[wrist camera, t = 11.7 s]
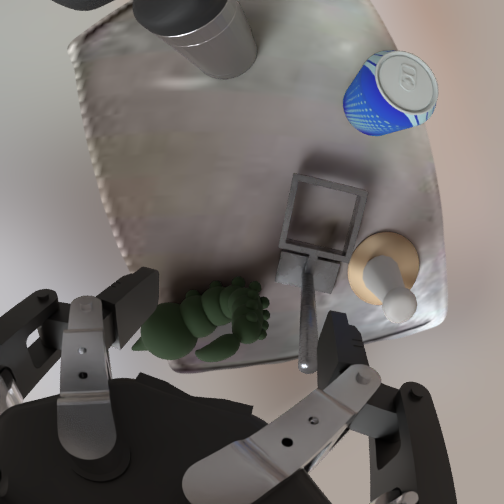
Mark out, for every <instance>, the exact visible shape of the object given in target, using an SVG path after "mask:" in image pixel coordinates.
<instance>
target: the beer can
mask: <svg viewBox="0 0 504 504" xmlns="http://www.w3.org/2000/svg"><path fill="white" fill-rule="evenodd" d="M437 98H438V84H437V81H436V78H435V76H434V74H433V72H432V70H431V69H430V68H429V66H428V65H427V64H426V63H425V62H424V61H423V60H421V59H420V58H419V57H417V56H415V55H413V54H411V53H408V52H405V51H394V50H387V51H381V52H378V53H376V54H374V55H372V56H371V57H370V58H369V59H368V60H367V61H366V62H365V64H364V65H363V67H362V68H361V70H360V71H359V73H358V74H357V76H356V77H355V79H354V80H353V82H352V83H351V85H350V86H349V88H348V89H347V91H346V93H345V95H344V99H343V108H344V112H345V115H346V117H347V119H348V121H349V122H350V123H351V124H352V126H353V127H355V128H356V129H357V130H358V131H360V132H362V133H364V134H367V135H370V136H381V135H385V134H389V133H392V132H396V131H399V130H403V129H407V128H410V127H414V126H418V125H420V124H422V123H424V122H425V121H427V120H428V119H429V118H430V117H431V115H432V114H433V112H434V109H435V106H436V102H437Z"/></svg>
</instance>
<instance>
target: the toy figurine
mask: <svg viewBox="0 0 504 504" xmlns="http://www.w3.org/2000/svg"><path fill="white" fill-rule="evenodd" d="M244 286H245V281H244V279H243V278H241V277H235V278H234V279H233V280H232V286H228V287H226V288H225V287H222V284H221V283H220V282H219V281H213V282H212V283H211V284H210V289H208V290H207V291H205V292H204V293H203V295H202V296H201V295H200V293H199V292H198V291H196V290H189V291H188V292H187V293H186V297H185V298H186V299H185V300H184V301H183V302H182V303H181V304H180V305H179V304H176V303H161V304H159V305H157V308H156V310H155V311H154V312H153V314H152V315H151V316H150V317H149V318H148V319H147V320H146V321H145V323H144V324H143V325H142V326H141V337H140V338H139V340H137V342H136V343H135V344H134V345H133V346H132V350H134V351H143V350H148V351H149V352H151V353H152V354H153V355H155V356H157V357H159V358H162V359H166V360H176V359H179V358H182V357H184V356H186V355H187V354H189V353H190V352H191V351H192V350H193V348H194V347H195V345H196V343H197V339H198V338H202V337H206V336H208V335H209V334H211V333H212V332H213V331H214V330H215V329H216V327H217V326H221V325H226V324H228V323H230V322H231V321H232V332H233V334H225V335H222V336H220V337H219V338H217V339H216V340H214V341H213V342H211V343H210V344H208V345H206V346H205V347H203V348H201V349H199V350H196V351H195V354H196V356H197V357H198V358H199V359H200V360H202V361H205V362H218V361H221V360H225V359H227V358H229V357H231V356H232V355H234V354H235V353H236V351H237V350H238V348H239V346H240V342H241V343H244V344H250V343H253V342H255V341H257V340H258V339H259V340H263V339H264V338H266V336H267V333H266V330H267V329H268V327H269V324H268V322H267V321H266V320H268V319H269V317H270V313H269V311H268V310H263V309H265V308H267V307H268V306H269V300H268V298H267V297H264V296H263V297H260V296H259V292H260V291H261V285H260V283H259V282H257V281H253V282H251V283H250V284H249V288H243V287H244Z"/></svg>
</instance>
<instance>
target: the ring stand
mask: <svg viewBox="0 0 504 504" xmlns="http://www.w3.org/2000/svg"><path fill="white" fill-rule="evenodd" d="M298 181H301V182H305V183H310V184H314V185H318V186H323V187H327V188H331V189H335V190H339V191H343V192H347V193H351V194H355V195H357V199H356V203H355V207H354V211H353V215H352V219H351V223H350V227H349V231H348V235H347V238H346V242H345V246H344V249H343V251H341V250H336V249H332V248H328V247H323V246H319V245H314V244H310V243H306V242H301V241H297V240H292V239H288V238H286V237H287V233H288V228H289V223H290V219H291V214H292V209H293V205H294V200H295V195H296V190H297V185H298ZM367 195H368V191H366V190H363V189H359V188H355V187H352V186H348V185H344V184H340V183H336V182H332V181H328V180H323V179H319V178H315V177H310V176H306V175H301V174H297V173H293V178H292V183H291V188H290V193H289V198H288V203H287V208H286V213H285V218H284V222H283V227H282V232H281V237H280V241H279V246H278V247H279V248H283V249H288V250H292V251H297V252H301V253H306V254H309V255H305V254H301V253H296V252H292V251H287V250H283V249H282V251H281V256H280V260H279V265H278V269H277V274H276V278H275V282H278V283H283V284H287V285H292V286H296V287H301V311H300V339H299V361H298V368H299V370H300V371H301V372H303V373H306V374H310V373H314V372H316V371H317V345H318V331H317V315H316V301H315V291H320V292H324V293H329V294H331V293H332V289H333V286H334V283H335V280H336V276H337V273H338V270H339V267H340V263H339V262H336V261H332V260H328V259H333V260H337V261H341V262H346V263H350V259H351V256H352V253H353V249H354V246H355V242H356V238H357V235H358V231H359V227H360V224H361V220H362V216H363V212H364V208H365V204H366V200H367ZM318 256H319V257H324V258H328V259H323V258H319V257H318Z"/></svg>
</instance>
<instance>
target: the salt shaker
mask: <svg viewBox="0 0 504 504" xmlns="http://www.w3.org/2000/svg"><path fill="white" fill-rule="evenodd" d="M363 281H364V283H365V286H366V287H367V288H368V289H369V290H370V291H371V292H372V293H373V294H374V295H375V296H376V297H377V298H378V299H379V300H380V301H381V302H382V303H383V304H382V309H383V311H384V314H385V317H386V318H387V319H388V320H390V321H391V322H392V323H398V324H399V323H403V322H406V321H407V320H409V319H410V318H411V317H412V316H413V314H414V313H415V312H416V308H417V301H416V297H415V295H414V294H413V293H412V292H411V291H410V290H409V289H408V288H405V285H404V282H403V279H402V276H401V273H400V270H399V267H398V264H397V262H396V261H394V260H393V259H392V258H391V257H388V256H384V255H381V256H377V257H374V258H373V259H371V260H369V261H368V262H367V264H366V266H365V268H364V270H363Z"/></svg>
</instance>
